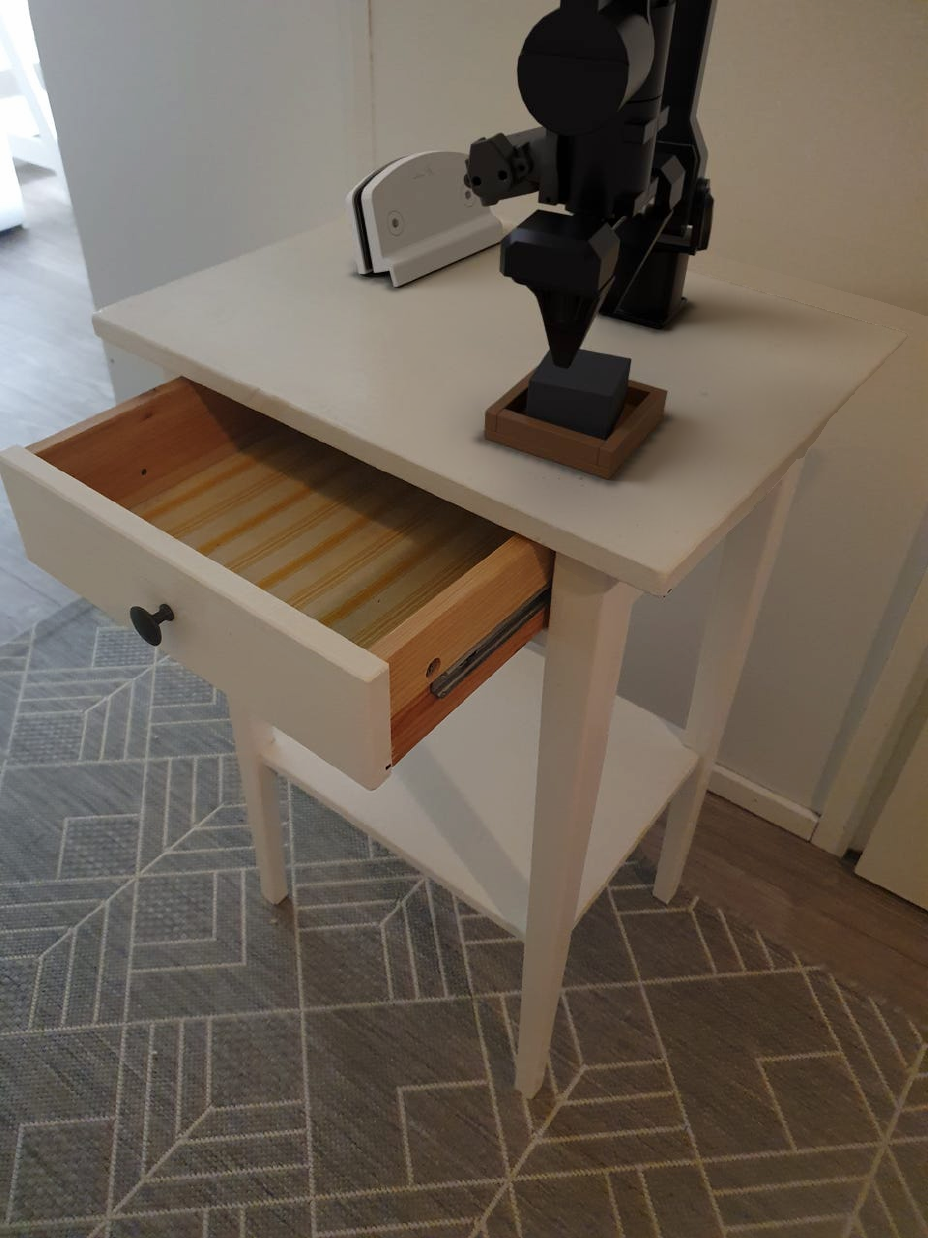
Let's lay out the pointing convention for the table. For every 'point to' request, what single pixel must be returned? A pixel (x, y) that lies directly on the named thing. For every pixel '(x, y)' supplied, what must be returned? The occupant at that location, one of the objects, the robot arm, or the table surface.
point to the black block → (580, 393)
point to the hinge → (418, 216)
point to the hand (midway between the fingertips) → (585, 338)
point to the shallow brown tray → (570, 446)
